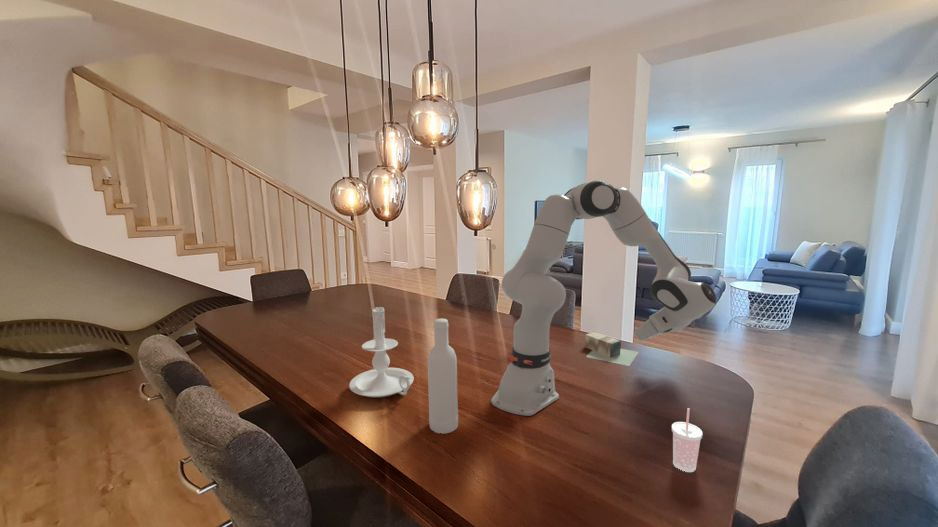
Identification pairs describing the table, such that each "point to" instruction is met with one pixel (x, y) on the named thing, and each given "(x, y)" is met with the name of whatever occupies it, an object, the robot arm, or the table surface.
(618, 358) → the mat
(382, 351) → the candlestick
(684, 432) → the beverage cup
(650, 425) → the table surface
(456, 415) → the bottle
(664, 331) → the robot arm
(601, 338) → the block
